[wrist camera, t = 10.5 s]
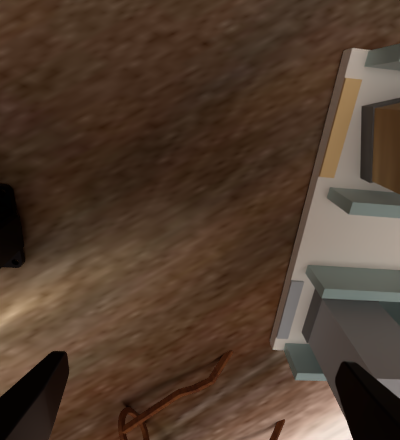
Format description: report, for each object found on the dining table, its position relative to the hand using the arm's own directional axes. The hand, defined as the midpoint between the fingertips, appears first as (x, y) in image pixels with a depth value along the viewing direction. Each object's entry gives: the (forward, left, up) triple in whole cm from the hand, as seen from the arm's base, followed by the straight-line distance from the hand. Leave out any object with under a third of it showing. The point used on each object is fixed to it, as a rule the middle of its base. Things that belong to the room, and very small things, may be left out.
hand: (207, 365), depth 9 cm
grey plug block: (+12, -8, -12) cm, 19 cm away
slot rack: (+12, 0, -13) cm, 18 cm away
